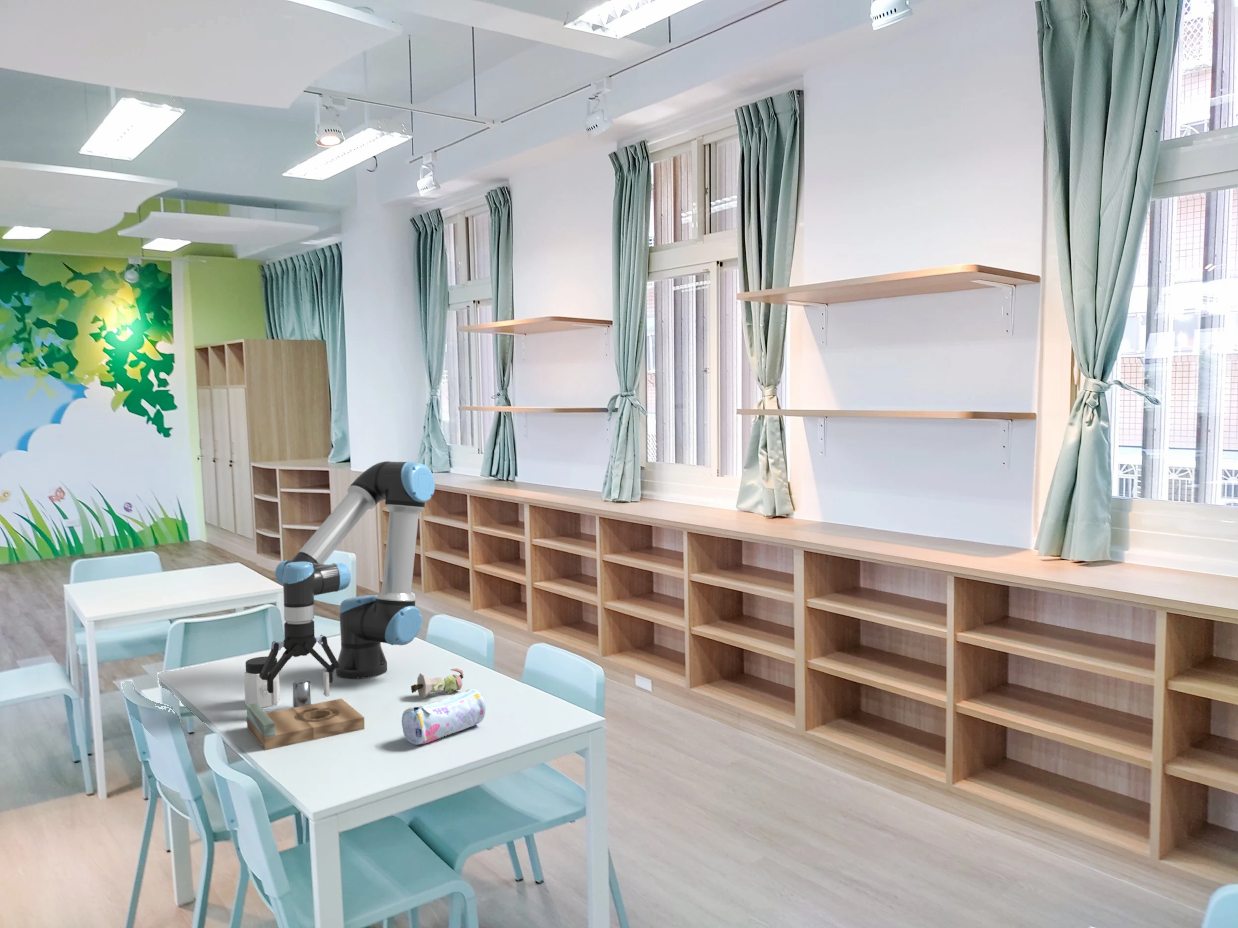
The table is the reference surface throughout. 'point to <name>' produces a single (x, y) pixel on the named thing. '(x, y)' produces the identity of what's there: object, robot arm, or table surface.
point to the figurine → (437, 684)
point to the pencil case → (443, 717)
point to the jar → (258, 683)
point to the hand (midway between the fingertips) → (300, 699)
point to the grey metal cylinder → (301, 693)
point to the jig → (302, 723)
